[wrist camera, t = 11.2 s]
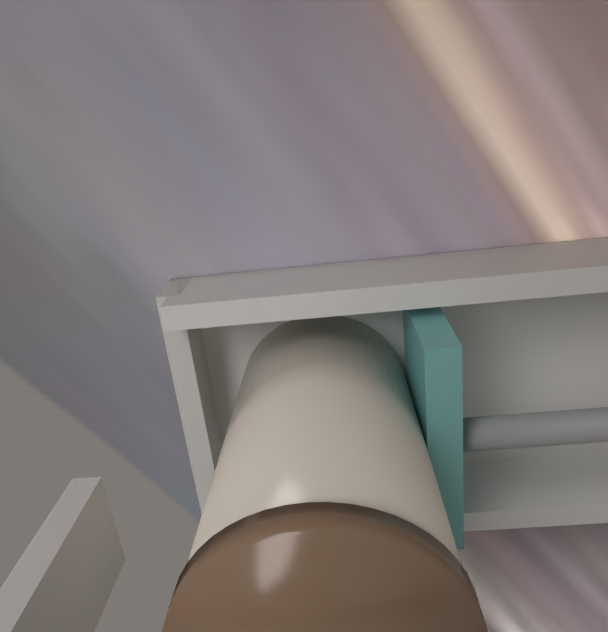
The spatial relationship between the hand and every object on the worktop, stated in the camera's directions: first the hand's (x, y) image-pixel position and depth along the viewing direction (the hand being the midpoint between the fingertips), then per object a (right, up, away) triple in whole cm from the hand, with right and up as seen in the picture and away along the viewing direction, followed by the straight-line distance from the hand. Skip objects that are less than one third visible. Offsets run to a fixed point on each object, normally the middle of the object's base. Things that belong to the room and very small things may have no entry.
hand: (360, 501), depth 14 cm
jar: (-1, +2, +7) cm, 7 cm away
